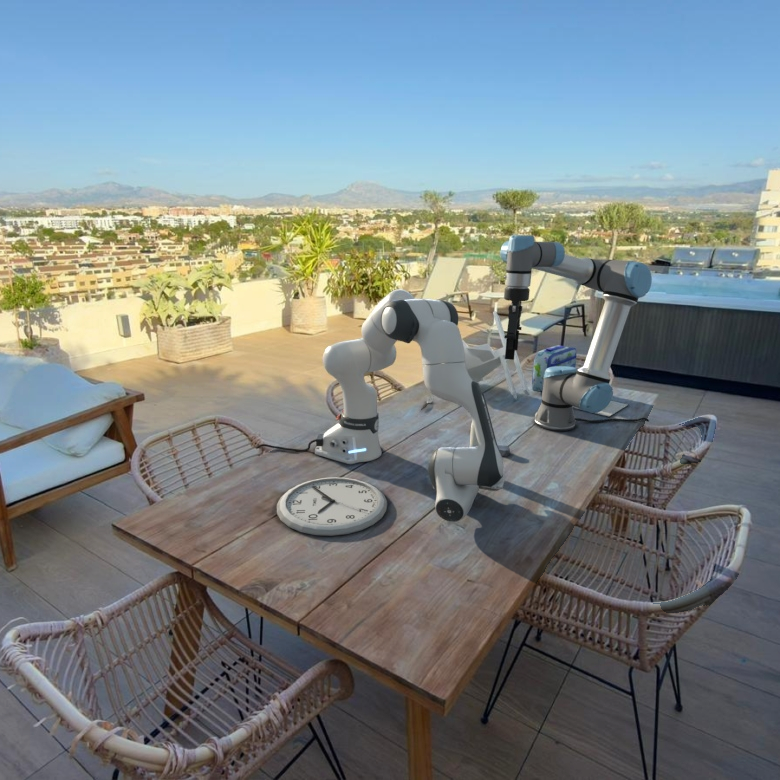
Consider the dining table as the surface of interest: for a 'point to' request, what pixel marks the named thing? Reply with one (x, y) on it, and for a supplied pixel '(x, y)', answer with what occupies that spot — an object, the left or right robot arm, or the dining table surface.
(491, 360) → the white plastic object
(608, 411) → the invitation card
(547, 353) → the lunch box
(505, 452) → the cap
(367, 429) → the left robot arm
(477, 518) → the dining table surface
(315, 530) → the wall clock
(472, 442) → the bottle
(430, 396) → the fork
